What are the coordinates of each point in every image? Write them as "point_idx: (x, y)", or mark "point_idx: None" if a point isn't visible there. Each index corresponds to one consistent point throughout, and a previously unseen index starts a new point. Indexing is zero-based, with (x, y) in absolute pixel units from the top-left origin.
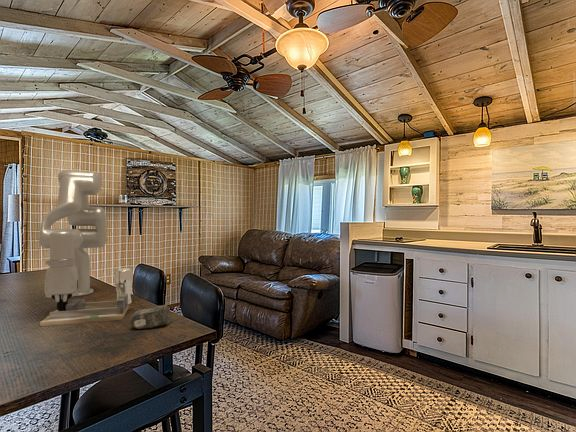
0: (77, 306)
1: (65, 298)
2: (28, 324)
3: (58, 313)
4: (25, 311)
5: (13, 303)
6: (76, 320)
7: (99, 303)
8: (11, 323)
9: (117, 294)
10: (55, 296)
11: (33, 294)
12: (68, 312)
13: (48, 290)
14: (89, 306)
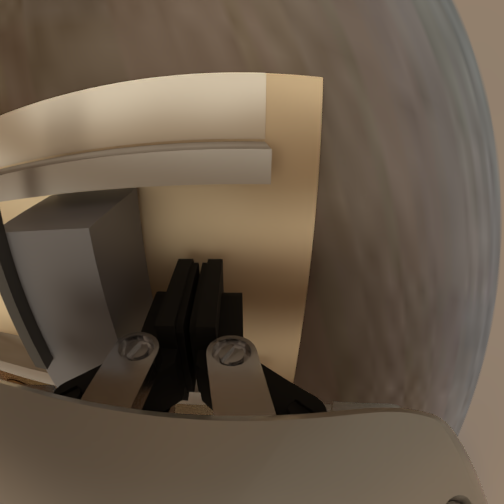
0: (7, 224)
1: (119, 366)
2: (408, 172)
3: (174, 148)
4: (425, 395)
5: None
6: (43, 102)
7: (16, 359)
8: (481, 232)
9: None
10: (261, 407)
11: None
12: (81, 159)
13: (414, 488)
14: None
